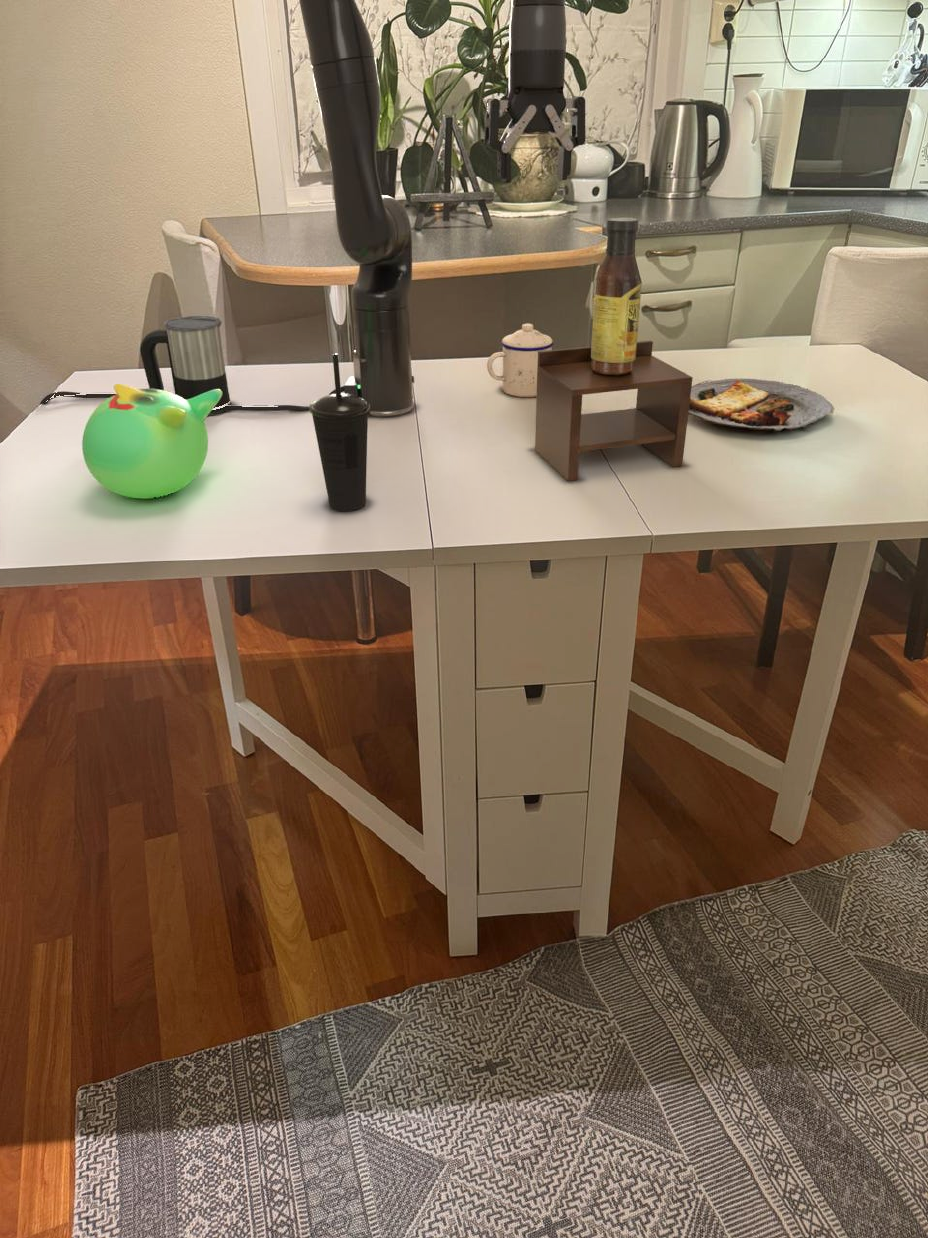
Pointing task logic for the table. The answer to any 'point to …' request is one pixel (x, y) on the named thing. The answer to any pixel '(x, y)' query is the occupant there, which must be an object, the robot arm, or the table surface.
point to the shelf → (648, 424)
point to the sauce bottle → (617, 301)
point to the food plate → (757, 404)
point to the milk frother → (189, 358)
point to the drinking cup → (342, 445)
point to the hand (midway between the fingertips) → (533, 181)
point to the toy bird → (147, 440)
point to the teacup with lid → (520, 361)
